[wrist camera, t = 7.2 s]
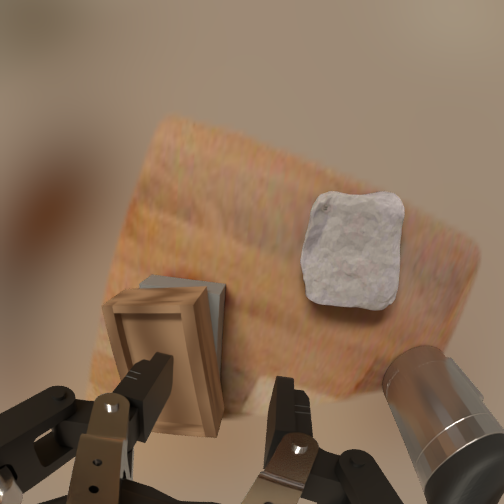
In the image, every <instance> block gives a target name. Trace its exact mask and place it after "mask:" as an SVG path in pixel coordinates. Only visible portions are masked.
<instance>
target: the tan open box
mask: <svg viewBox="0 0 504 504" xmlns="http://www.w3.org/2000/svg"><path fill="white" fill-rule="evenodd" d="M102 311H103V315H104V319H105V324H106V328H107V332H108V336H109V340H110V344H111V347H112V351H113V355H114V358H115V362H116V365H117V369H118V372H119V375H120V379H121V381H122V379H123V378H124V377H126V374H127V373H128V372H129V371H130V369H131V368H132V367H133V365H134V364H135V363H137V362H139V361H141V360H143V359H145V360H149V361H150V360H151V358H152V357H153V356H154V354H155V353H156V352H161V353H165V354H169V355H173V357H174V364H173V385H172V390H171V394H170V396H169V398H168V400H167V402H166V404H165V406H164V408H163V410H162V412H161V413H160V415H159V417H158V419H157V421H156V423H155V425H154V427H153V429H152V431H151V432H156V433H166V434H174V435H185V436H197V437H214V438H216V437H217V435H218V431H219V427H220V424H221V420H222V416H223V412H224V409H225V408H224V402H223V396H222V389H221V383H220V377H219V370H218V364H217V357H216V351H215V344H214V337H213V330H212V322H211V315H210V307H209V300H208V292H207V286H198V287H171V288H138V289H124V290H123V291H121V292H120V293H119V294H117V295H116V296H114V297H113V298H112V299H110V300H109V301H107V302H106V303H105V304H103V305H102Z"/></svg>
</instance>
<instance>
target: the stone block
mask: <svg viewBox="0 0 504 504" xmlns="http://www.w3.org/2000/svg"><path fill="white" fill-rule="evenodd" d="M403 220H404V206H403V203H402V201H401V199H400V198H399V197H398V196H397V195H396V194H395V193H391V192H385V191H381V192H376V193H371V194H365V195H349V194H344V193H341V192H336V191H329V192H327V193H324V194H321V195H320V196H319V197H317V200H316V201H315V203H314V204H313V206H312V209H311V212H310V220H309V225H308V229H307V232H306V234H305V242H304V244H303V248H302V254H301V260H300V263H301V267H302V272H303V280H304V282H305V292H306V296H307V298H309V299H310V300H311V301H313V302H314V303H317V304H320V305H331V306H339V307H359V308H364V309H369V310H383V309H385V308H386V307H387V306H388V305H391V304H392V302H393V301H394V300H395V297H396V293H397V290H398V283H399V273H400V239H401V228H402V224H403Z"/></svg>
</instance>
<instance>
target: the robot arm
mask: <svg viewBox="0 0 504 504" xmlns="http://www.w3.org/2000/svg"><path fill="white" fill-rule="evenodd" d="M173 364H174V357H173V355H169V354H165V353H161V352H156V353H155V354H154V356H153V357H152V358H151V360H150V361H149V360H145V359H143V360H141V361H139V362H137V363H135V364H134V365H133V367H132V368H131V369H130V371H129V372H128V373H127V374H126V377H124V378H123V379H122V381H121V382H120V383H119V385H118V386H117V387H116V388H115V390H114V391H113V392H112V393H105V394H102V395H100V396H98V397H97V398H96V399H95V401H86V400H78V399H75V394H74V392H73V391H72V390H71V389H69V388H67V387H64V386H52V387H49V388H47V389H46V390H44V391H42V392H40V393H38V394H36V395H34V396H33V397H31V398H29V399H27V400H25V401H23V402H21V403H20V404H18V405H16V406H14V407H12V408H10V409H9V410H7V411H5V412H3V413H1V414H0V504H21V502H22V499H23V493H25V492H26V491H28V490H29V489H31V488H32V487H33V486H35V485H36V484H38V483H39V482H40V481H42V480H43V479H45V478H46V477H47V476H49V475H50V474H51V473H53V472H54V471H56V470H57V469H59V468H60V467H61V466H63V465H64V464H65V463H66V462H68V461H69V460H71V459H72V458H73V457H75V461H74V466H73V470H72V475H71V480H70V486H69V491H68V495H65V496H62V497H59V498H56V499H52V500H49V501H46V502H42V503H39V504H219V503H214V502H188V501H187V502H186V501H179V500H176V499H174V498H172V497H170V496H168V495H166V494H164V493H162V492H160V491H158V490H156V489H154V488H153V487H150V486H147V485H143V484H140V483H137V482H134V481H133V460H134V445H135V443H136V441H141V442H144V443H145V442H146V441H147V439H148V437H149V435H150V433H151V431H152V429H153V427H154V425H155V423H156V421H157V419H158V417H159V415H160V413H161V412H162V410H163V408H164V406H165V404H166V402H167V400H168V398H169V396H170V394H171V390H172V385H173ZM383 392H384V395H385V397H386V399H387V402H388V404H389V407H390V409H391V411H392V414H393V416H394V419H395V421H396V423H397V426H398V428H399V431H400V433H401V436H402V437H403V440H404V443H405V445H406V448H407V450H408V453H409V455H410V458H411V460H412V463H413V465H414V468H415V471H416V473H417V476H418V478H419V481H420V483H421V486H422V489H423V492H424V495H425V497H426V501H427V504H498V502H499V500H500V498H501V496H502V495H503V493H504V429H503V427H502V426H501V425H500V424H499V422H498V421H497V420H496V418H495V417H494V416H493V414H492V413H491V412H490V411H489V409H488V408H487V407H486V405H485V404H484V403H483V399H484V398H483V395H482V394H481V392H480V391H479V390H478V389H477V388H476V387H475V385H474V384H473V383H472V382H471V381H470V379H469V378H468V377H467V376H466V374H465V373H464V372H463V371H462V370H461V369H460V368H459V366H458V365H457V364H456V363H455V362H454V361H453V359H452V358H448V357H446V356H445V355H444V354H443V353H442V352H441V351H440V350H439V349H437V348H435V347H432V346H419V347H416V348H413V349H410V350H408V351H406V352H405V353H403V354H402V355H400V356H399V357H398V358H397V359H396V360H395V361H394V362H393V363H392V364H391V365H390V367H389V368H388V370H387V372H386V374H385V376H384V379H383ZM49 429H52V431H51V432H50V433H49V434H47V435H45V436H44V437H42V438H41V439H39V440H37V441H36V442H34V441H35V439H36V438H37V437H38V436H40V435H41V434H43V433H45V432H46V431H48V430H49ZM263 469H265V470H264V471H263V472H260V474H259V475H258V477H257V479H256V480H255V482H254V483H253V485H252V487H251V488H250V490H249V491H248V493H247V495H246V496H245V498H244V499H243V501H242V502H241V504H297V503H298V501H299V498H300V497H301V498H304V499H307V500H310V501H314V502H317V504H403V502H402V501H401V499H400V498H399V496H398V495H397V493H396V492H395V490H394V489H393V487H392V486H391V484H390V483H389V481H388V480H387V478H386V477H385V475H384V473H383V472H382V470H381V469H380V468H379V466H378V464H377V463H376V462H375V460H374V458H373V457H372V456H371V455H370V454H368V453H366V452H365V451H362V450H356V449H352V450H347V451H345V452H343V453H342V454H341V455H336V454H333V453H329V452H327V451H324V450H323V449H321V448H320V447H319V445H318V443H317V441H316V440H315V439H314V438H313V433H312V422H311V414H310V402H309V397H308V396H307V395H306V393H305V392H304V391H303V390H295V389H294V379H293V378H289V377H282V376H277V377H276V380H275V384H274V388H273V392H272V397H271V401H270V405H269V410H268V420H267V433H266V444H265V457H264V468H263Z"/></svg>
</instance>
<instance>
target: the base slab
mask: <svg viewBox="0 0 504 504" xmlns="http://www.w3.org/2000/svg"><path fill="white" fill-rule="evenodd" d="M139 285H140V288H171V287H198V286H207V292H208V300H209V307H210V315H211V322H212V330H213V337H214V344H215V351H216V357H217V364H218V370H219V377H220V370H221V352H222V335H223V318H224V303H225V288H226V284H222V283H214V282H205V281H197V280H189V279H182V278H174V277H166V276H159V275H151V276H149V277H148V278H146V279H145V280H144V281H142V282H141V283H140V284H139Z"/></svg>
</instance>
